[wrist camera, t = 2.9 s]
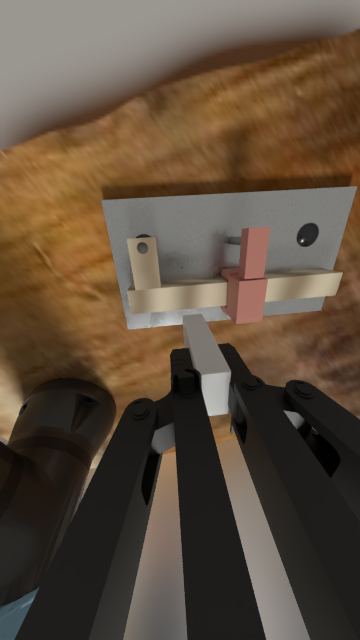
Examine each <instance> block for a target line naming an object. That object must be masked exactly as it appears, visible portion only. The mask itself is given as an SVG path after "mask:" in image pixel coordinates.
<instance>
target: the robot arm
mask: <svg viewBox="0 0 360 640" xmlns="http://www.w3.org/2000/svg"><path fill="white" fill-rule="evenodd" d="M183 330H184V346H185V348H182V349H173V350H172V352H171V354H170V361H171V391H170V392H169V393H168V395H166V396H165V397H164V398H162V399H160V400H158V401H155V402H153V401H152V400H151V399H147V398H140V399H137V400H135V401H133V402H132V403H130V404H129V405H128V406H127V408H126V409H125V411H124V413H123V415H122V417H121V419H120V421H119V423H118V425H117V427H116V429H115V431H114V434H113V436H112V438H111V440H110V442H109V444H108V446H107V448H106V450H105V452H104V454H103V456H102V458H101V461H100V463H99V465H98V467H97V469H96V471H95V473H94V475H93V477H92V479H91V481H90V483H89V486H88V488H87V490H86V492H85V494H84V496H83V498H82V500H81V497H82V493H83V490H84V486H85V483H86V480H87V476H88V473H89V469H90V466H91V463H92V460H93V459H94V457H95V455H96V454H97V452H98V451H99V449H100V447H101V446H102V444H103V443H104V441H105V439H106V438H107V436H108V434H109V433H110V431H111V429H112V427H113V424H114V420H115V416H116V406H115V403H114V401H113V399H112V398H111V396H110V395H109V394H108V393H107V392H106V391H105V390H103V389H102V388H100V387H98V386H97V385H95V384H92V383H90V382H86V381H83V380H78V379H57V380H52V381H49V382H46V383H44V384H42V385H40V386H38V387H37V388H36V389H35V390H34V391H33V392H32V393H31V394H30V396H29V397H28V398H27V399H26V400H25V402H24V403H23V405H22V407H21V409H20V412H19V416H18V418H17V420H16V423H15V425H14V428H13V431H12V433H11V436H10V439H9V442H8V444H7V445H5V444H4V443H2V442H1V441H0V640H123V637H124V632H125V628H126V623H127V618H128V614H129V609H130V604H131V599H132V595H133V590H134V586H135V580H136V576H137V571H138V567H139V562H140V558H141V553H142V548H143V543H144V539H145V534H146V530H147V525H148V520H149V516H150V511H151V506H152V502H153V497H154V492H155V488H156V482H157V478H158V473H159V469H160V464H161V459H162V455H163V452H164V451H166V450H168V449H170V448H172V447H174V446H175V448H176V463H177V479H178V494H179V510H180V526H181V542H182V557H183V574H184V590H185V605H186V620H187V621H186V622H187V637H188V640H266V637H265V633H264V629H263V626H262V622H261V618H260V614H259V610H258V606H257V603H256V598H255V595H254V591H253V587H252V583H251V579H250V575H249V572H248V567H247V564H246V560H245V556H244V552H243V548H242V544H241V540H240V537H239V532H238V529H237V525H236V521H235V517H234V514H233V509H232V505H231V501H230V498H229V494H228V490H227V486H226V482H225V478H224V474H223V470H222V467H221V463H220V459H219V455H218V451H217V447H216V443H215V439H214V436H213V432H212V428H211V424H210V420H209V416H213V415H221V414H228V407H229V409H230V411H231V414H232V417H231V428H230V431H231V435H232V434H233V432H234V431H235V434H236V437H237V440H238V442H239V445H240V448H241V450H242V453H243V456H244V459H245V461H246V464H247V467H248V469H249V472H250V475H251V478H252V481H253V483H254V486H255V489H256V492H257V494H258V497H259V500H260V502H261V505H262V508H263V511H264V514H265V516H266V519H267V522H268V524H269V527H270V530H271V533H272V535H273V538H274V541H275V544H276V546H277V549H278V552H279V554H280V557H281V560H282V563H283V565H284V568H285V571H286V574H287V576H288V579H289V582H290V585H291V587H292V590H293V593H294V596H295V598H296V601H297V604H298V607H299V609H300V612H301V615H302V618H303V620H304V623H305V626H306V629H307V631H308V634H309V637H310V639H311V640H360V419H358V418H357V417H356V416H354V415H353V414H351V413H350V412H349V411H347V410H346V409H345V408H343V407H342V406H341V405H339V404H338V403H336V402H335V401H334V400H332V399H331V398H330V397H328V396H327V395H326V394H324V393H323V392H321V391H320V390H319V389H317V388H316V387H314V386H313V385H311V384H309V383H307V382H304V381H300V380H291V381H289V382H287V383H286V386H285V388H284V387H277V386H270V385H266V384H265V383H264V382H263V381H262V380H261V379H260V378H258V377H257V376H254V375H252V374H251V372H250V371H249V369H248V368H247V366H246V365H245V363H244V362H243V360H242V358H241V357H240V355H239V354H238V352H237V351H236V349H235V348H234V347H233V346H232V345H230V344H229V343H226V344H217V343H216V341H215V339H214V337H213V335H212V333H211V331H210V329H209V327H208V325H207V323H206V321H205V319H204V317H203V315H202V314H194V315H183ZM312 427H313V428H314V429H315V430H316V431H317V432H316V431H315V430H313V429H312ZM80 500H81V502H80Z"/></svg>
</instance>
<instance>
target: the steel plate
mask: <svg viewBox="0 0 360 640" xmlns="http://www.w3.org/2000/svg"><path fill="white" fill-rule="evenodd" d="M356 189H357V186H354V187H335V188H317V189H298V190H280V191H261V192H243V193H224V194H206V195H187V196H169V197H150V198H132V199H113V200H101V201H102V206H103V211H104V215H105V220H106V225H107V230H108V235H109V239H110V244H111V249H112V254H113V259H114V263H115V268H116V273H117V278H118V283H119V287H120V292H121V297H122V302H123V307H124V311H125V316H126V321H127V326H128V329H138V328H148V327H158V326H168V325H178V324H183V315H194V314H202V315H203V317H204V319H205V321H206V322H208V321H218V320H228V319H231V318H230V317H229V316H227V315H226V314H225V313H224V312H223V311H222V309H221V308H220V306H216V307H206V308H195V309H185V310H174V311H164V312H153V313H142V314H132V315H131V310H130V305H129V300H128V294H127V290H128V288H129V287H130V285H135V284H134V279H133V273H132V267H131V261H130V255H129V249H128V244H127V239H133V238H148V237H156V242H157V251H158V261H159V270H160V279H161V282H171V281H183V280H194V279H206V278H218V277H223V276H222V275H221V269H228V268H239V259H240V246H241V245H233V244H231V243H230V239H231V238H232V237H241V233H242V229H245V228H257V227H270V234H269V241H268V249H267V256H266V264H265V271H264V274H266V273H278V272H289V271H301V270H313V269H328V270H333V267H334V264H335V261H336V257H337V254H338V250H339V247H340V243H341V240H342V237H343V233H344V230H345V226H346V223H347V219H348V216H349V213H350V209H351V206H352V202H353V199H354V195H355V192H356ZM324 298H325V296H322V297H311V298H301V299H290V300H280V301H269V302H265V304H264V311H263V316H268V315H278V314H288V313H298V312H308V311H318V310H321V309H322V305H323V302H324Z"/></svg>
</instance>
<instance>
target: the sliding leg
mask: <svg viewBox="0 0 360 640" xmlns="http://www.w3.org/2000/svg"><path fill="white" fill-rule="evenodd" d="M269 234H270V227H257V228H245V229H242V233H241V237H232V238H231V239H230V243H231V244H233V245H241V246H240V259H239V268H228V269H221V275H222V276H223V277H225V278H226V279H228V297H227V306H220V308H221V309H222V311H223V312H224V313H225V314H226V315H227V316H229V317H230V318H231V319H232V320H233V321H234V322H235V323H236V324H242V323H252V322H262V317H263V311H264V304H265V297H266V290H267V283H268V279H266V278H264V271H265V264H266V256H267V249H268V241H269Z"/></svg>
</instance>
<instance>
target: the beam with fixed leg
mask: <svg viewBox="0 0 360 640" xmlns="http://www.w3.org/2000/svg"><path fill="white" fill-rule="evenodd" d="M127 244H128V249H129V255H130V261H131V267H132V273H133V279H134V284H135V285H130V287H129V288H128V290H127V294H128V300H129V305H130V310H131V315H132V314H142V313H153V312H164V311H174V310H185V309H195V308H206V307H216V306H227V297H228V279H226V278H225V277H218V278H206V279H194V280H183V281H171V282H161V279H160V270H159V261H158V251H157V242H156V237H148V238H133V239H127ZM342 274H343V272H338V271H333V270H328V269H313V270H301V271H289V272H278V273H266V274H264V278H266V279H268V283H267V290H266V297H265V302H269V301H280V300H290V299H301V298H311V297H322V296H333V295H336V293H337V289H338V286H339V283H340V280H341V277H342Z"/></svg>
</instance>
